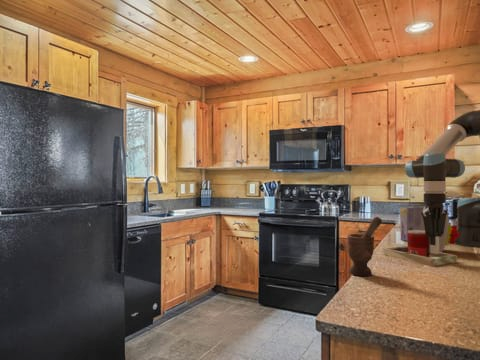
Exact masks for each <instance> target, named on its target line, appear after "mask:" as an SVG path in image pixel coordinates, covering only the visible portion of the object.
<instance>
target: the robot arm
mask: <svg viewBox="0 0 480 360" xmlns="http://www.w3.org/2000/svg"><path fill="white" fill-rule="evenodd" d="M475 136H477V137H479V138H480V109H478V110H471V111H467V112H466V113H463V114H461V115H459V116H458V117H456V118H455V119H454V120H452V121H451V122H450V123H449V124H448V125H447V126H446V127H445V128H444V132H443V133H442V134H440V135H439V137H438V138H437V139H436V140H435V141H433V143H432V144H431V145H430V146H429V147H428V148H427V149H426V150H425V151H424V152H422V153H421V155H420V156H419V157H418V158H417V159H416V160H413V159H412V160H409V161H407V162H406V163H405V165H404V172H405V175H406V176H407V177H408V178H416V179H420V178H421V179H422V178H423V192H424V193H423V202H424V203H425V206H424V207H425V208H426V209H425V210H424V211H421V214H422V216H423V221H424V227H425V233H426V235H427V236H430V253H434V254H439V243H440V237H442V236H443V234H444V228H445V221H446V215H447V213H449V211H448V210H447V209H445V207H444V204H445V203H446V202H447V199H446V198H447V196H446V195H447V194H446V192H447V186H446V185H447V184H446V179H447V178H450V179H451V178H452V179H454V178H459V177H461V176H462V175H464V173H465V171H466V164H465V162H463V161H462V160H460V159H457V158H447V157H446V156H447V155H448V153H450V151H452V149H454V147H455V146H457V144H458V143H459V142H463V141H464V140H465V139H466V138H470V137H475ZM456 209H457V214H456V215H457V218H456V219H457V231H456V232H458V233H459V238H457V237H455V243H454V245H458V246H459V245H460V246H464V247H473V248H474V247H476V248H480V196H479V197H465V198H459V199H458V200H457V205H456ZM441 234H442V235H441Z"/></svg>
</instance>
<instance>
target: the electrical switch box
mask: <svg viewBox="0 0 480 360" xmlns="http://www.w3.org/2000/svg"><path fill="white" fill-rule="evenodd" d="M423 207H424V209H423V211H424V210H425V209H426V208H425V207H426V206H423ZM448 213H449V212H448ZM448 213H447V215H446V221H445V228H444V234H443V236H442V237H440V243H439V252H442V253H443V251H444V250H445V247H446V246H448V243H449V244H450V245H455V237H457V238H459V233H458V232H456V231H457V228H458V225H455V224H453V225H451V224H452V223H451V222H450V219H449V214H448ZM420 230H423V231H425V227H424V221H423V216H422V217H421V223H420ZM441 235H442V234H441Z"/></svg>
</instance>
